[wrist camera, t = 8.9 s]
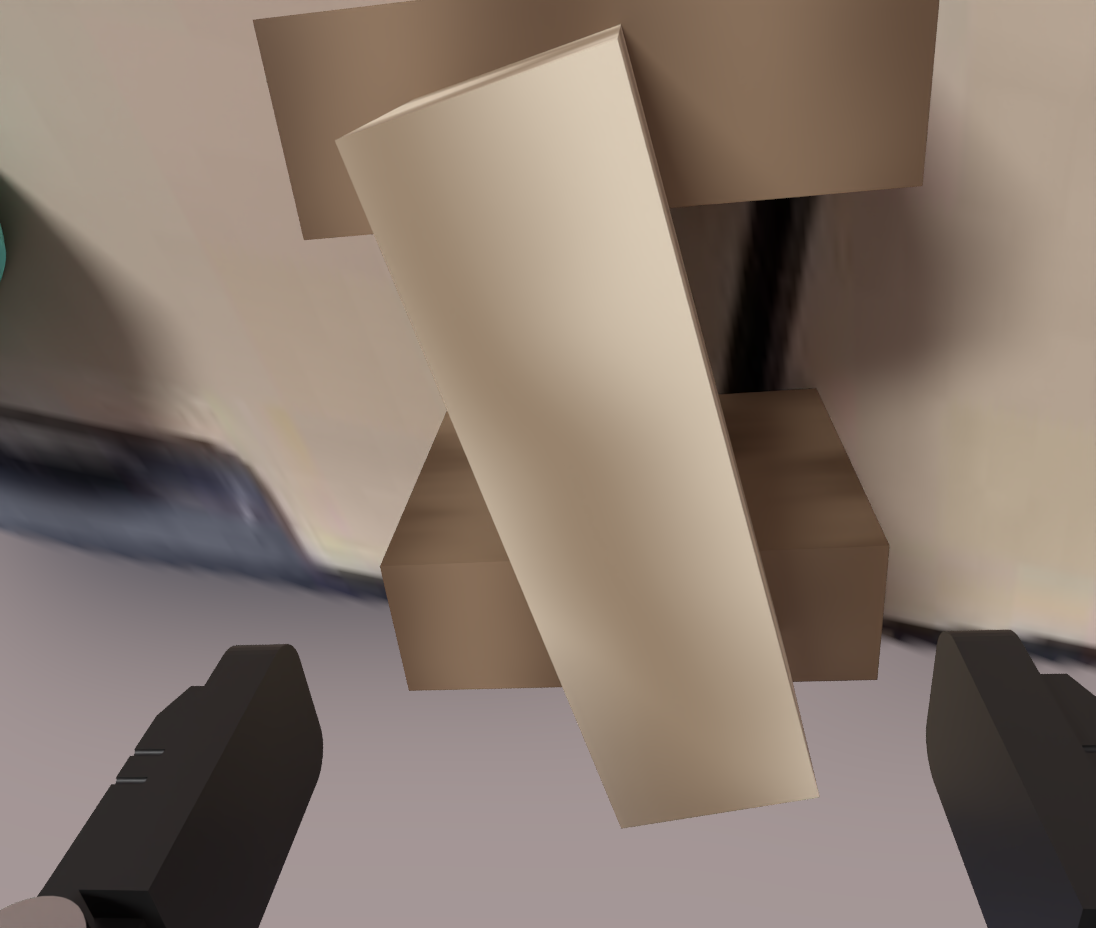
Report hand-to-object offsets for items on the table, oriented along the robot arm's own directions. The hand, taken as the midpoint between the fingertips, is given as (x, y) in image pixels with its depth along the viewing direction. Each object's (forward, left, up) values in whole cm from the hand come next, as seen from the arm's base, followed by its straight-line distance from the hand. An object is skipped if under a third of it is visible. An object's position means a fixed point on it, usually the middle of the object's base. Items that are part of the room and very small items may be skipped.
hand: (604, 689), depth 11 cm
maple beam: (0, 0, -9) cm, 9 cm away
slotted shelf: (0, 0, -18) cm, 18 cm away
